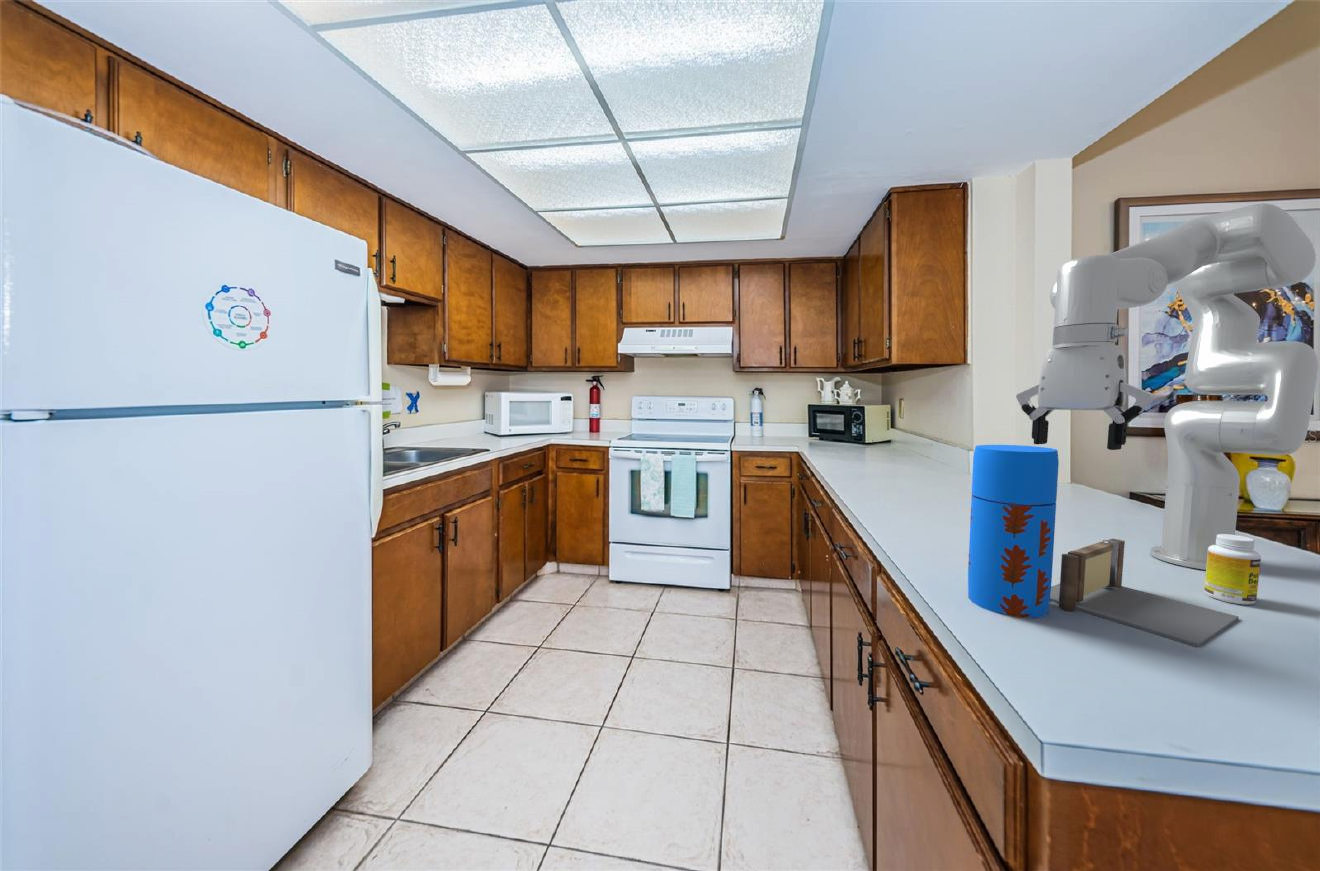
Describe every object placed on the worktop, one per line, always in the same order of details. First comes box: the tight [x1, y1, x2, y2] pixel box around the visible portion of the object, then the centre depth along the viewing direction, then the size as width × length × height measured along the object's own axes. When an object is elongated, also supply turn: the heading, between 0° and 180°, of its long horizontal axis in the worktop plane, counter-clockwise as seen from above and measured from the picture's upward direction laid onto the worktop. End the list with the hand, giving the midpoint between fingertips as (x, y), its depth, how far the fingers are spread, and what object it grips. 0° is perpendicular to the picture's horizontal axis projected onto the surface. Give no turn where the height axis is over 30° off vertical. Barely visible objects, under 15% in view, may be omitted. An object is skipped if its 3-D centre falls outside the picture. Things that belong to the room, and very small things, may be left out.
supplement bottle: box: [1204, 534, 1262, 606], centre depth 79 cm, size 6×6×10 cm
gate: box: [1067, 539, 1119, 602], centre depth 80 cm, size 14×2×8 cm, turn 118°
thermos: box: [967, 444, 1060, 619], centre depth 78 cm, size 11×11×25 cm
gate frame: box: [1049, 538, 1239, 648], centre depth 76 cm, size 18×19×8 cm
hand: (1075, 446), depth 79 cm, fingers open, 9 cm apart
